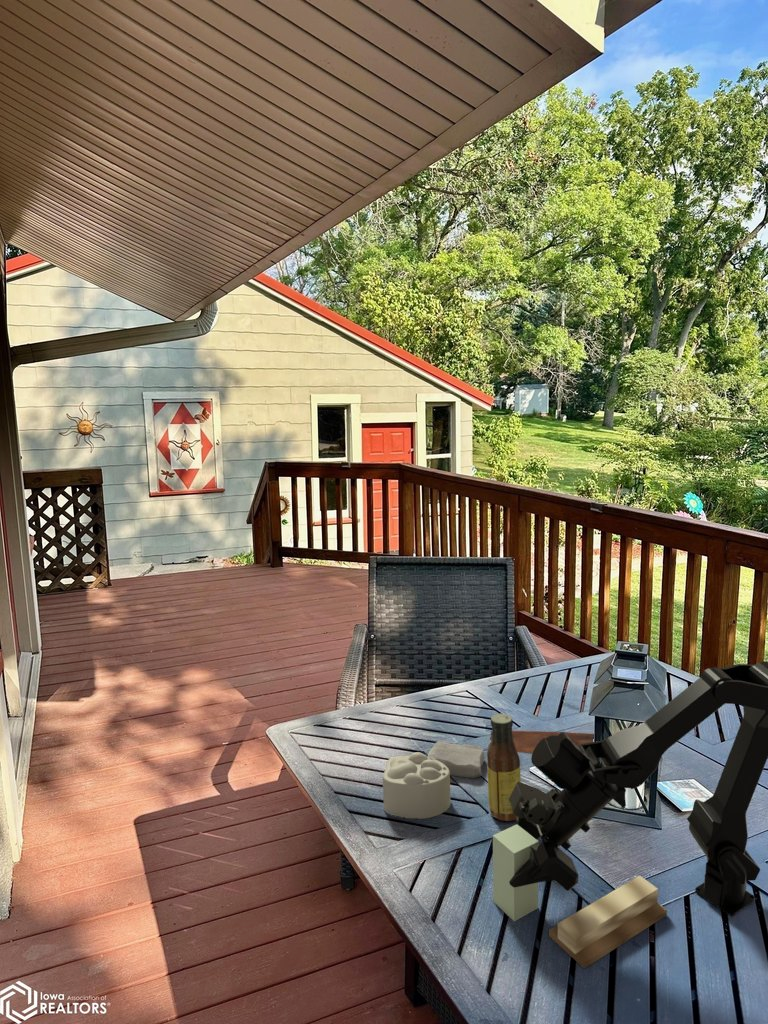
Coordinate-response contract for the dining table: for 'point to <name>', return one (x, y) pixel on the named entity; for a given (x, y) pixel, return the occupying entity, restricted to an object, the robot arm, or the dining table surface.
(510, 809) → the sauce bottle
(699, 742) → the dining table surface
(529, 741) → the wooden tablet
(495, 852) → the sage post
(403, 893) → the dining table surface
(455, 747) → the stone block
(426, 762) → the lumpy-topped squat cylinder
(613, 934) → the birch ridge
